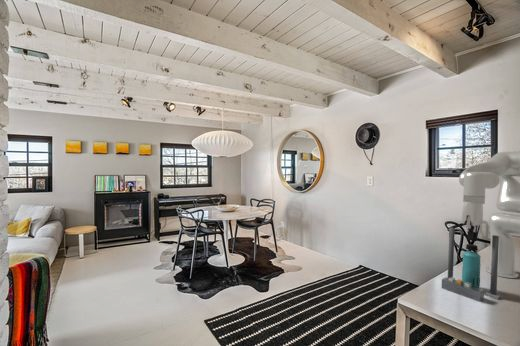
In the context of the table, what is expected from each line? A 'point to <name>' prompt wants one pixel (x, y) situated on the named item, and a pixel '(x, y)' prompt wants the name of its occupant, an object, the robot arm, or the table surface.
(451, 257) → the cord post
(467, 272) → the beverage bottle
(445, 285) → the pdu strip
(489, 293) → the cord post
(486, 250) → the table surface
